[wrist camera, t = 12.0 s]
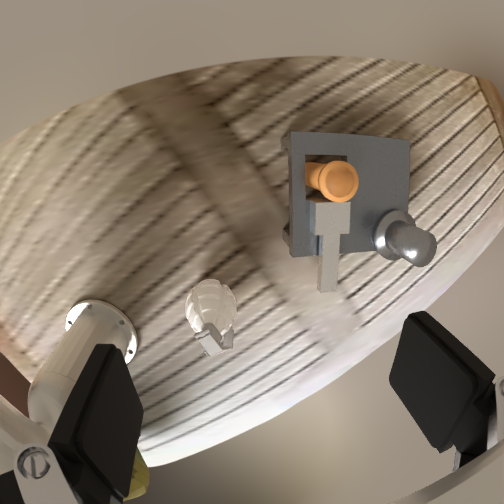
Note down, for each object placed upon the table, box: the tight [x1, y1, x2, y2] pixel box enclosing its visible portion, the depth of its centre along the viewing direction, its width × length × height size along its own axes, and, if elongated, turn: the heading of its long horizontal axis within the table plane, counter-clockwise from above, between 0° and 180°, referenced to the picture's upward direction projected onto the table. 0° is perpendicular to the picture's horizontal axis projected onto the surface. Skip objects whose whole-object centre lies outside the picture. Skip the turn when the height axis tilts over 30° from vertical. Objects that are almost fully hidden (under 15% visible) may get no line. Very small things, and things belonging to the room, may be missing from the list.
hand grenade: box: [185, 279, 237, 356], centre depth 35 cm, size 8×6×13 cm
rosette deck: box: [281, 132, 437, 293], centre depth 32 cm, size 18×17×13 cm
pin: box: [305, 161, 359, 202], centre depth 32 cm, size 4×4×10 cm
